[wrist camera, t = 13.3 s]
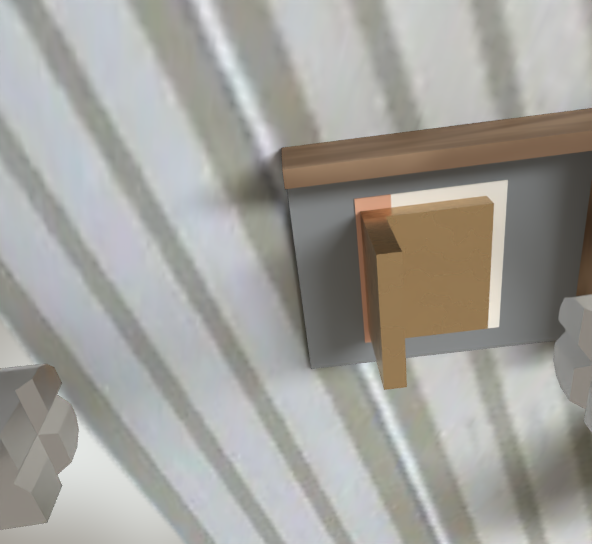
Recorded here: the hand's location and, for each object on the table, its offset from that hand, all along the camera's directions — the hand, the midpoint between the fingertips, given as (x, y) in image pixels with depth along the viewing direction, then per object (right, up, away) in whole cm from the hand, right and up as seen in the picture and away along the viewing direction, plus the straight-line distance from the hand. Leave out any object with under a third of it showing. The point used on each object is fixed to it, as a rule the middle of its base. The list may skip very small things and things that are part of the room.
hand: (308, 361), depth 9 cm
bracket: (+9, +2, +31) cm, 33 cm away
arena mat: (+11, +3, +31) cm, 33 cm away
